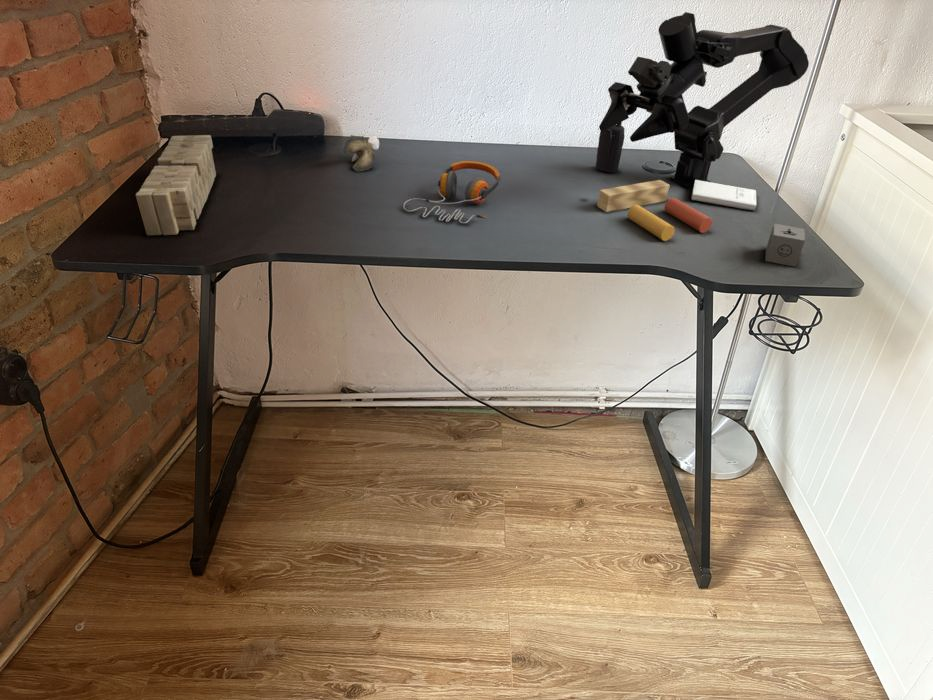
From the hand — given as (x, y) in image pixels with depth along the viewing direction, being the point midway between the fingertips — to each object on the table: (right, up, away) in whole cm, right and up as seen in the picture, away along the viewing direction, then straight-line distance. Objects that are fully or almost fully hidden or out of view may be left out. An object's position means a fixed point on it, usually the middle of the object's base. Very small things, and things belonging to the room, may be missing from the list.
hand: (615, 134), depth 130 cm
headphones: (-30, -12, +5) cm, 33 cm away
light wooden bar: (+5, -12, +8) cm, 15 cm away
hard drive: (+25, -10, +12) cm, 29 cm away
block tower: (-82, -13, +1) cm, 83 cm away
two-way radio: (+3, -1, +22) cm, 22 cm away
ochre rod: (+6, -18, -2) cm, 20 cm away
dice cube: (+27, -25, -9) cm, 38 cm away
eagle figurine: (-52, 0, +20) cm, 55 cm away
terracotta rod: (+14, -16, +2) cm, 22 cm away
